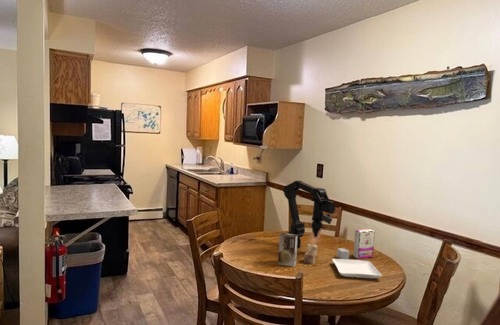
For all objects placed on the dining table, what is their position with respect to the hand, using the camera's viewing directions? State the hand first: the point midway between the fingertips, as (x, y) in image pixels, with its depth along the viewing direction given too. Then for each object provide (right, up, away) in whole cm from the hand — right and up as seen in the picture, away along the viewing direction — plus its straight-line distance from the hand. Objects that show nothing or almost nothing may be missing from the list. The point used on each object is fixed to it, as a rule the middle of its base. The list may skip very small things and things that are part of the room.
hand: (315, 235), depth 206 cm
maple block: (-2, -12, +2) cm, 12 cm away
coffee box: (-19, -12, -17) cm, 28 cm away
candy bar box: (+28, -14, +2) cm, 31 cm away
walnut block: (-6, -12, -12) cm, 18 cm away
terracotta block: (0, -1, 0) cm, 1 cm away
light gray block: (+16, -13, -2) cm, 20 cm away
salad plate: (+17, -15, -22) cm, 32 cm away
